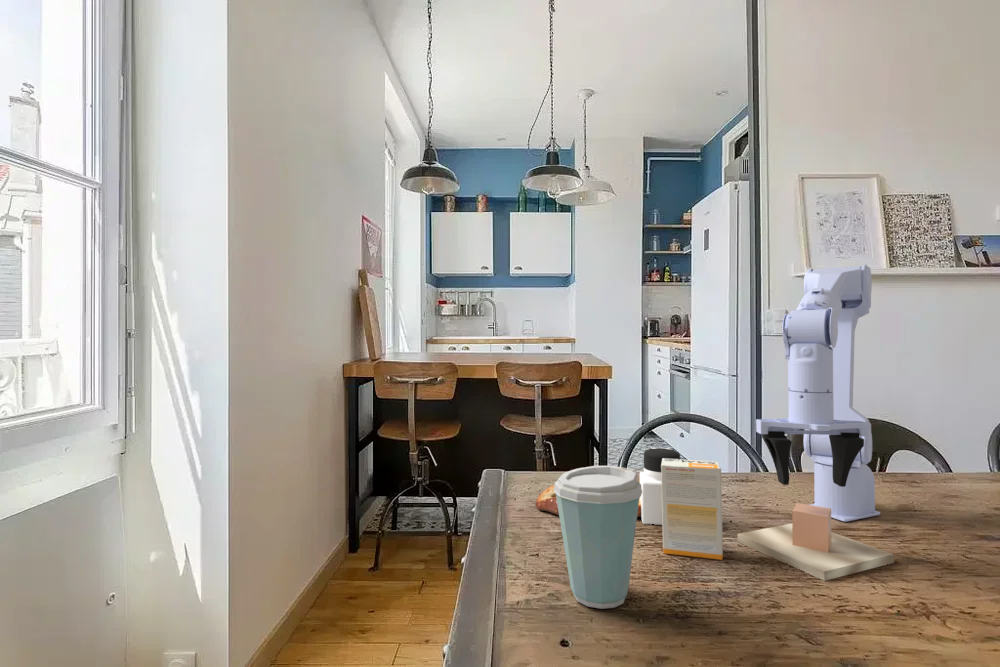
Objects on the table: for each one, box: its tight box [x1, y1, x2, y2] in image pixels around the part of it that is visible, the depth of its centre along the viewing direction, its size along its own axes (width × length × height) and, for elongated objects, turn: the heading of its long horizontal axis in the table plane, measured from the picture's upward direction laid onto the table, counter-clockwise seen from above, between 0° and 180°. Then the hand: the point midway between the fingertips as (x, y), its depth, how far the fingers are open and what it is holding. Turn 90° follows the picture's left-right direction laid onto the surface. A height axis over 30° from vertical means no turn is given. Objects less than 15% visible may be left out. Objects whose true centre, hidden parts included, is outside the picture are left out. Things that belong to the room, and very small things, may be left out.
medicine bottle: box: [639, 447, 681, 526], centre depth 91 cm, size 7×7×12 cm
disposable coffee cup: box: [553, 465, 642, 610], centre depth 64 cm, size 11×11×15 cm
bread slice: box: [534, 484, 641, 518], centre depth 96 cm, size 18×18×4 cm
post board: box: [737, 523, 895, 582], centre depth 76 cm, size 14×14×4 cm
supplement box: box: [661, 458, 724, 561], centre depth 77 cm, size 8×5×13 cm, turn 71°
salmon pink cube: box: [791, 502, 832, 552], centre depth 76 cm, size 4×4×5 cm
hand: (811, 483), depth 76 cm, fingers open, 7 cm apart
